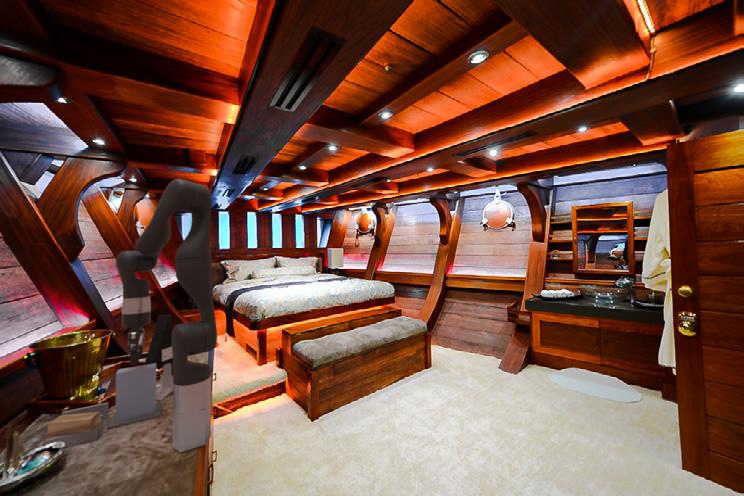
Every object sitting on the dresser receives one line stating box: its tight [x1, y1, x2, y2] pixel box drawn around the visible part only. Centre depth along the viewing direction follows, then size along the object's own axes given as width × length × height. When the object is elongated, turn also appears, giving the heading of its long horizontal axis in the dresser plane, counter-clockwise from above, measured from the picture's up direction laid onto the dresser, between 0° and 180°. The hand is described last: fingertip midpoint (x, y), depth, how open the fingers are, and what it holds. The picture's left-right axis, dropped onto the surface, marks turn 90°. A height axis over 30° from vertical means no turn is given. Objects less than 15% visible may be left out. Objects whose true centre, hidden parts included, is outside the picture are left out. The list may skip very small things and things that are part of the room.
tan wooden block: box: [44, 401, 109, 448], centre depth 88 cm, size 13×11×5 cm
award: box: [144, 314, 173, 401], centre depth 113 cm, size 15×5×30 cm, turn 168°
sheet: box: [115, 363, 157, 421], centre depth 97 cm, size 4×10×15 cm, turn 122°
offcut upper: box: [47, 412, 100, 437], centre depth 84 cm, size 4×10×4 cm, turn 101°
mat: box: [106, 402, 163, 431], centre depth 97 cm, size 10×13×1 cm
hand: (136, 360), depth 97 cm, fingers open, 8 cm apart
